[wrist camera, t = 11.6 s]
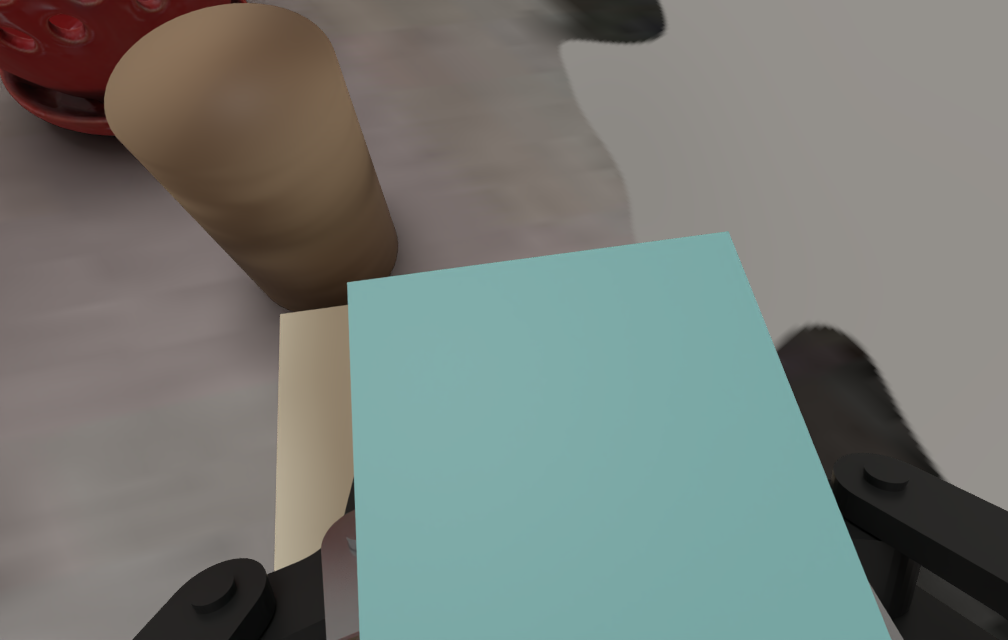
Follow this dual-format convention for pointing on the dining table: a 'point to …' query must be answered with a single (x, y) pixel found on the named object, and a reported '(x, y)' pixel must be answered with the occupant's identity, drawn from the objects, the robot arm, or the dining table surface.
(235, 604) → the robot arm
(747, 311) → the square peg
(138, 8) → the plant pot
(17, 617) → the dining table surface
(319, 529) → the socket block
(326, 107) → the tan cylinder
